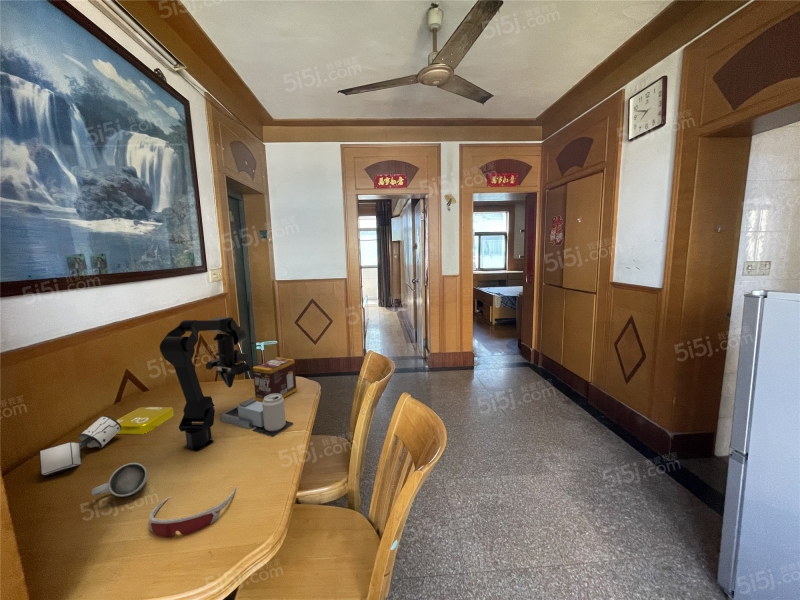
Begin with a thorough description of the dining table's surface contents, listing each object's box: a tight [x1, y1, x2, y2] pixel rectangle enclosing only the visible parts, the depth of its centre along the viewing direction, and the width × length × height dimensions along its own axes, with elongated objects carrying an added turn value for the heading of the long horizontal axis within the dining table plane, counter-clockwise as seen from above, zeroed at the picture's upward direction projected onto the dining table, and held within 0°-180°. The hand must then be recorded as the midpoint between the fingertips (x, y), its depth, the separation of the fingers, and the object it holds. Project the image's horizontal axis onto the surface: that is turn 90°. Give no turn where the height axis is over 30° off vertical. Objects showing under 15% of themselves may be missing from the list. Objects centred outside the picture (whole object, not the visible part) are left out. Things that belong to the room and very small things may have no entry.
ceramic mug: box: [91, 462, 148, 498], centre depth 87 cm, size 11×8×8 cm
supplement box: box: [252, 356, 297, 402], centre depth 149 cm, size 10×15×16 cm
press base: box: [219, 404, 294, 438], centre depth 125 cm, size 10×28×3 cm, turn 65°
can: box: [262, 393, 287, 431], centre depth 120 cm, size 8×8×12 cm
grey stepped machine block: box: [237, 398, 264, 427], centre depth 125 cm, size 6×12×7 cm, turn 65°
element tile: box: [115, 406, 175, 435], centre depth 126 cm, size 15×15×5 cm
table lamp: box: [38, 415, 122, 477], centre depth 104 cm, size 25×10×10 cm, turn 7°
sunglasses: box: [148, 484, 237, 538], centre depth 81 cm, size 17×17×5 cm
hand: (230, 387), depth 129 cm, fingers closed
